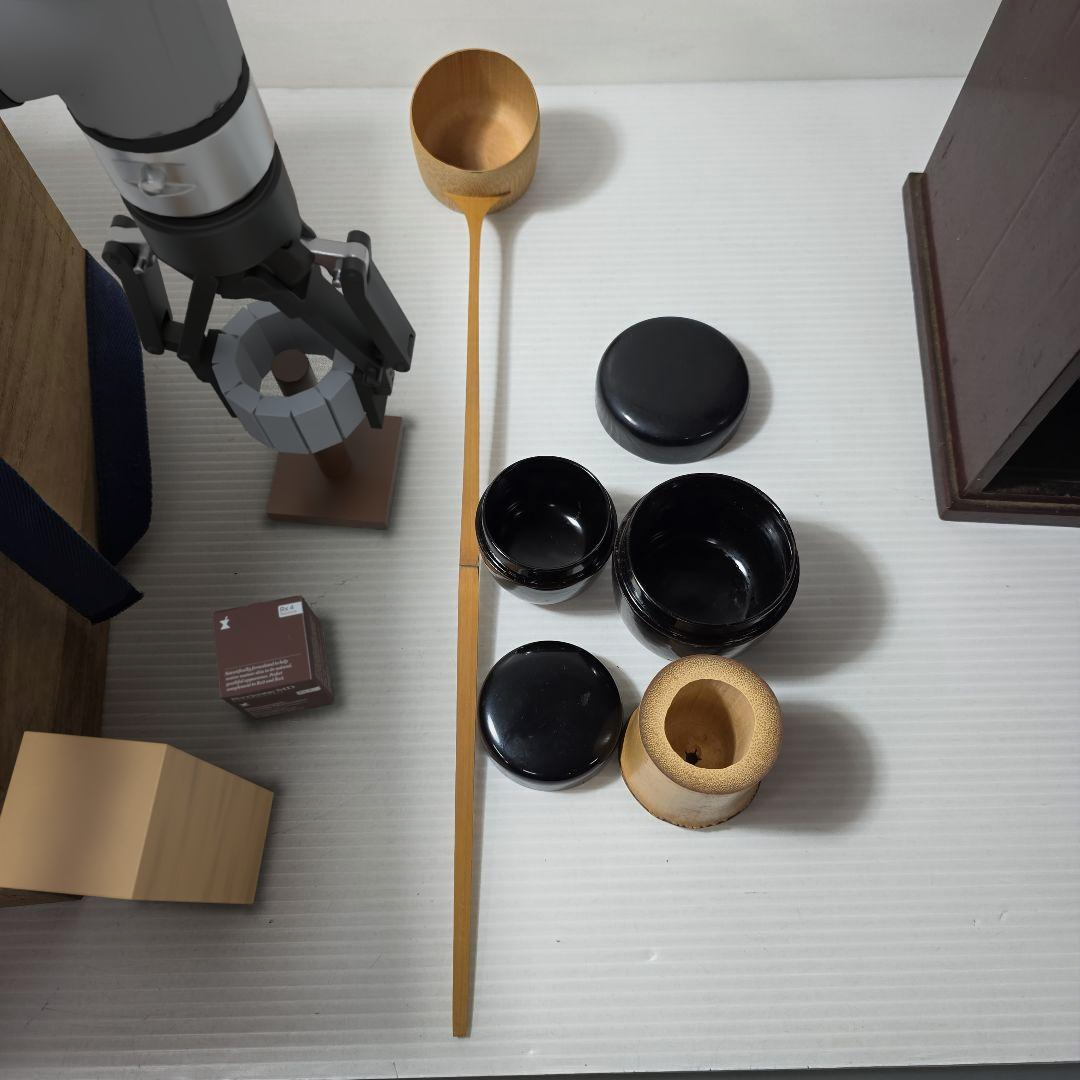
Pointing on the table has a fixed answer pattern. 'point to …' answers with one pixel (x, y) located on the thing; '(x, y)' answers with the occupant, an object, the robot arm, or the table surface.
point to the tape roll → (278, 418)
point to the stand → (130, 822)
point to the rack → (334, 466)
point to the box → (272, 657)
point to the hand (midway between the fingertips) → (310, 405)
